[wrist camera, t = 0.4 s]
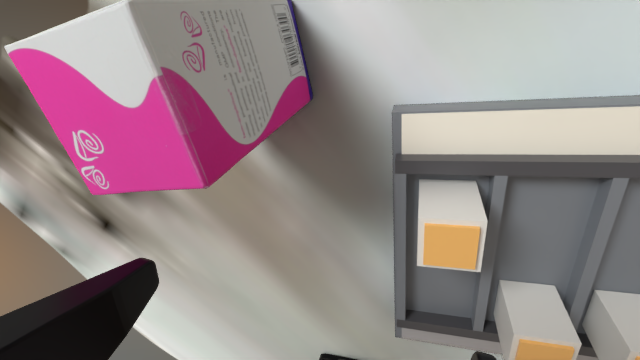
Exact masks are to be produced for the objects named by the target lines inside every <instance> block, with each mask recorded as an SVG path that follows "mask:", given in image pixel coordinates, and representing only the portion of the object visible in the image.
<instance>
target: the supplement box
mask: <svg viewBox="0 0 640 360" xmlns="http://www.w3.org/2000/svg"><path fill="white" fill-rule="evenodd" d="M5 49H6V51H7V53H8V55H9V56H10V58H11V59H12V61H13V63H14V64H15V66H16V68H17V69H18V71H19V73H20V74H21V76H22V78H23V79H24V81H25V83H26V84H27V86H28V87H29V89H30V91H31V93H32V94H33V96H34V98H35V99H36V101H37V103H38V104H39V106H40V108H41V109H42V111H43V113H44V114H45V116H46V118H47V119H48V121H49V123H50V124H51V126H52V128H53V130H54V131H55V133H56V135H57V136H58V138H59V140H60V141H61V143H62V145H63V146H64V148H65V149H66V151H67V153H68V155H69V156H70V158H71V160H72V161H73V163H74V165H75V166H76V168H77V170H78V171H79V173H80V175H81V176H82V178H83V180H84V182H85V183H86V185H87V187H88V188H89V190H90V192H91V193H92V194H93V195H104V194H105V195H106V194H117V193H126V192H140V191H159V190H179V189H200V188H208V187H210V186H211V185H212V184H213V183H214V182H216V181H217V180H218V179H219V178H220V177H221V176H223V175H224V174H225V173H226V172H227V171H228V170H229V169H231V168H232V167H233V166H234V165H235V164H236V163H237V162H238V161H240V160H241V159H242V158H243V157H244V156H246V155H247V154H248V153H249V152H250V151H252V150H253V149H254V148H255V147H256V146H258V145H259V144H260V143H261V142H262V141H264V140H265V139H266V138H267V137H268V136H269V135H271V134H272V133H273V132H274V131H275V130H277V129H278V128H279V127H280V126H281V125H282V124H284V123H285V122H286V121H287V120H288V119H289V118H291V117H292V116H293V115H294V114H295V113H296V112H298V111H299V110H300V109H301V108H303V107H304V106H305V105H306V104H307V103H309V102H310V101H311V100H312V99H313V95H312V89H311V85H310V80H309V76H308V71H307V67H306V62H305V58H304V53H303V50H302V45H301V41H300V36H299V32H298V28H297V24H296V19H295V15H294V11H293V7H292V2H291V0H123V1H121V2H118V3H115V4H112V5H109V6H107V7H104V8H102V9H99V10H97V11H94V12H92V13H89V14H86V15H84V16H81V17H79V18H77V19H74V20H72V21H69V22H67V23H64V24H61V25H58V26H56V27H53V28H51V29H48V30H46V31H43V32H41V33H38V34H36V35H34V36H31V37H29V38H26V39H23V40H20V41H18V42H15V43H12V44H10V45H6V46H5Z"/></svg>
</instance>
